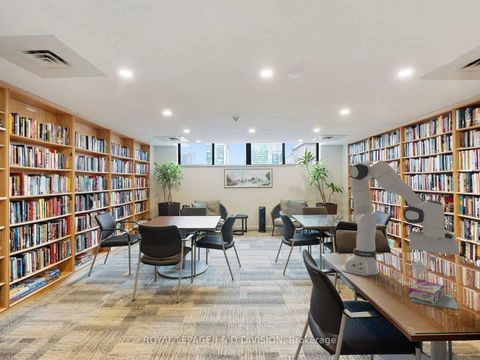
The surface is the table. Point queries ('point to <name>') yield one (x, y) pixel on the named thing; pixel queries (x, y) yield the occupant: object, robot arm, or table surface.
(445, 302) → the desk pad
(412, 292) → the candy bar box
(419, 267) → the white figurine
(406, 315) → the table surface
